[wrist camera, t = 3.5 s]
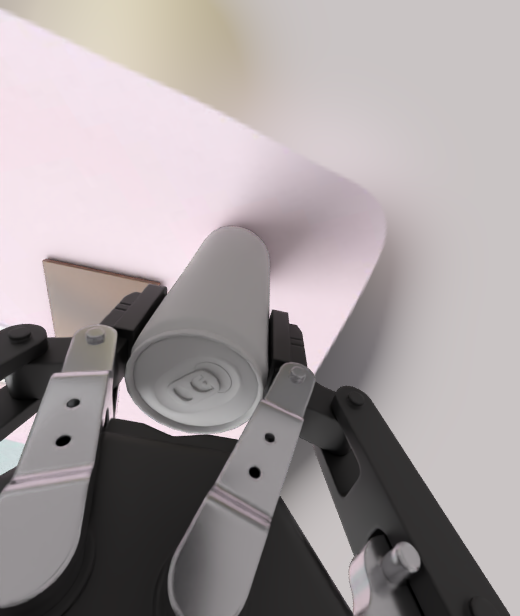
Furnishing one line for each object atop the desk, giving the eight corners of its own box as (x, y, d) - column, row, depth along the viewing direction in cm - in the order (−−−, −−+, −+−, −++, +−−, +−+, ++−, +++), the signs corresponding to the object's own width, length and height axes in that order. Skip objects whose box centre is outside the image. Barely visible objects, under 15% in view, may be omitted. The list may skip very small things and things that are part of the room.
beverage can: (283, 269, 20) (295, 407, 10) (227, 301, 22) (186, 452, 11) (243, 208, 18) (206, 300, 8) (185, 248, 20) (88, 371, 9)
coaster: (45, 258, 20) (41, 260, 20) (160, 282, 21) (158, 284, 21) (60, 346, 24) (57, 349, 24) (156, 364, 25) (154, 367, 25)
